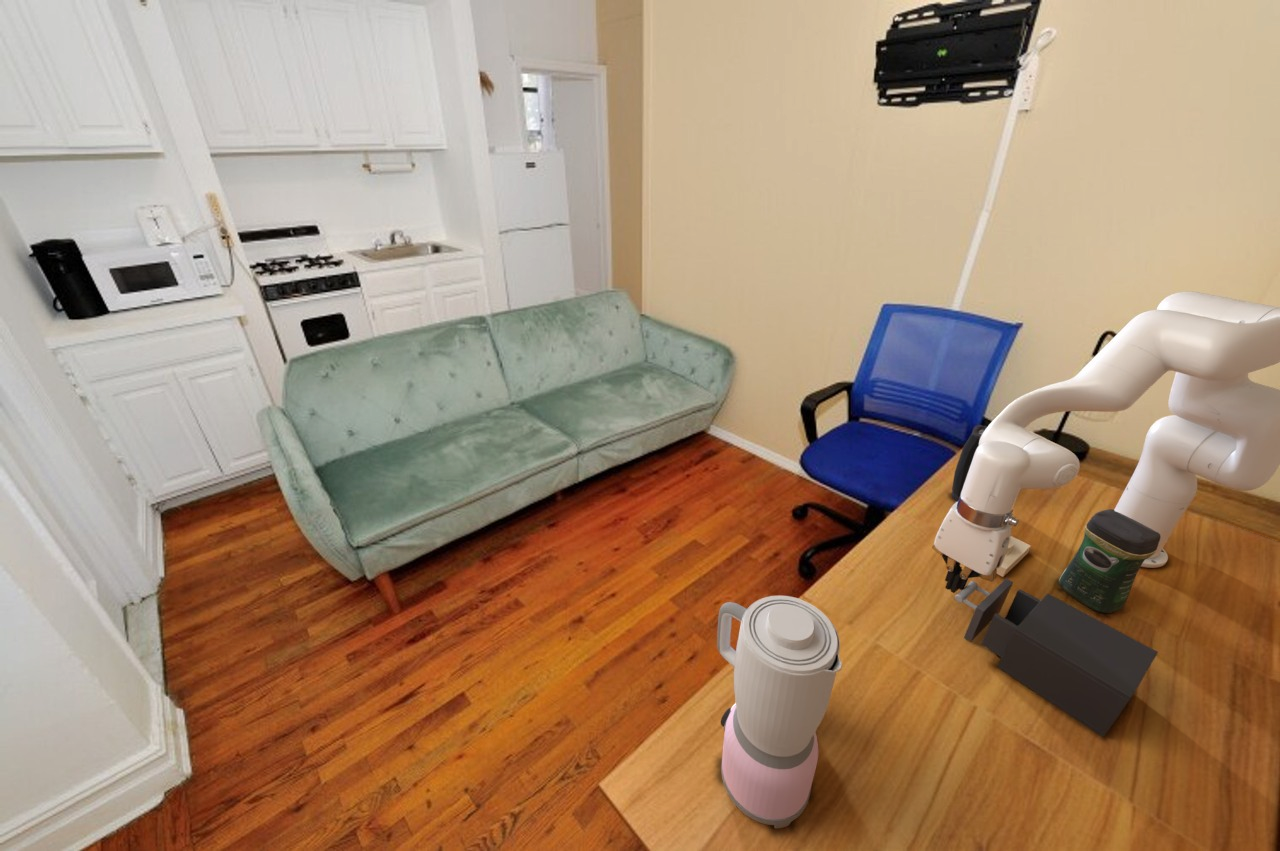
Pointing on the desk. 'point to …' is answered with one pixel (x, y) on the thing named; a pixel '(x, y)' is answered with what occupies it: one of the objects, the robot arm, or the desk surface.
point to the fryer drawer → (996, 614)
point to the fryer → (1076, 662)
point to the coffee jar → (1108, 561)
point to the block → (1013, 555)
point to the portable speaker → (966, 461)
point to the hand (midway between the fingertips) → (953, 587)
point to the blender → (775, 703)
